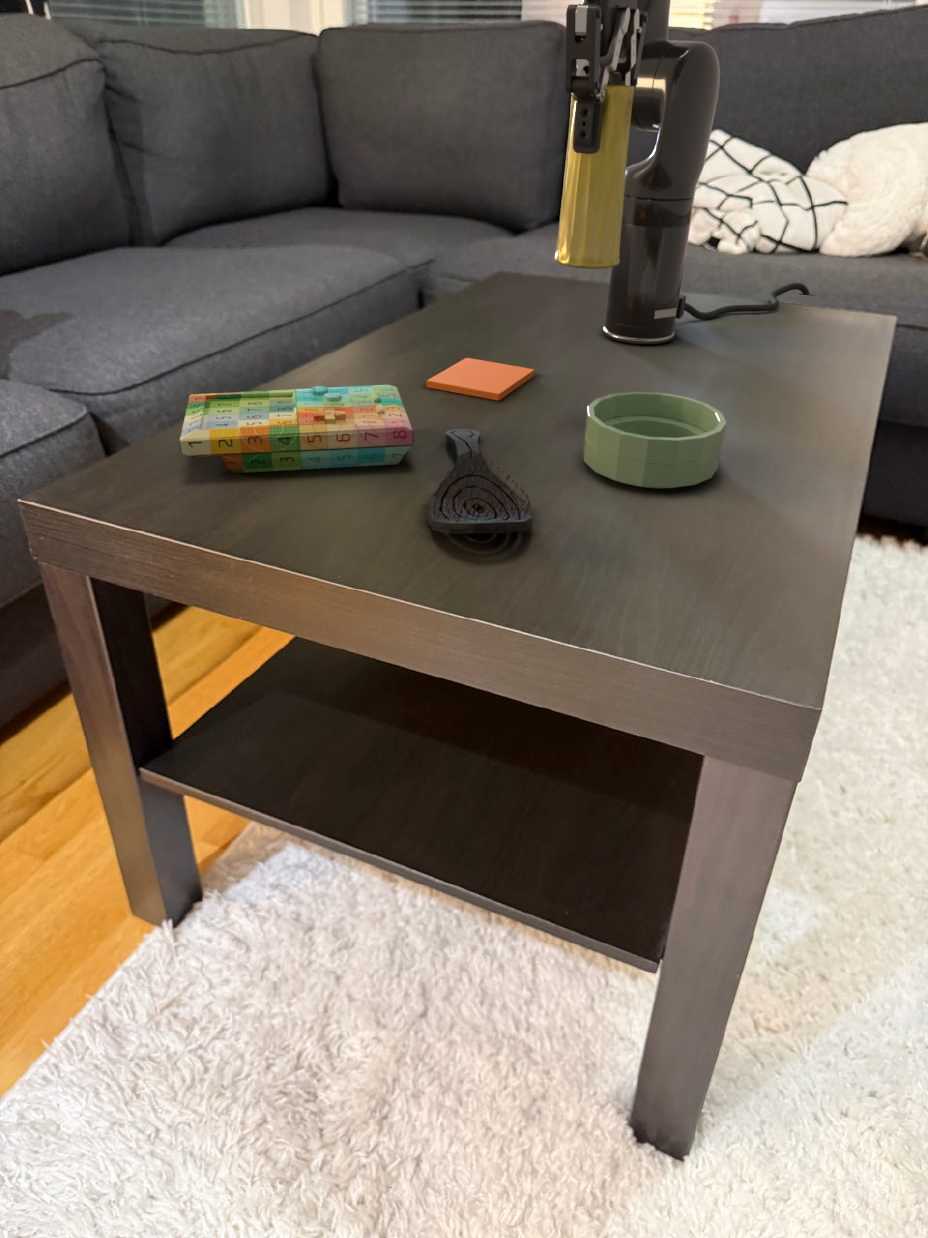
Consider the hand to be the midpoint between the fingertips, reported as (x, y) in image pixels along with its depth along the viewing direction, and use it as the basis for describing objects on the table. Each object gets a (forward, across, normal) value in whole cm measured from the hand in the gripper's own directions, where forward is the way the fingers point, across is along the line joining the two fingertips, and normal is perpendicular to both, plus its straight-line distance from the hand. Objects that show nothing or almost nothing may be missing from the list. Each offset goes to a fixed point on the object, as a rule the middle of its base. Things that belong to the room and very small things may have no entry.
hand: (597, 148), depth 77 cm
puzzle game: (+25, +21, -20) cm, 38 cm away
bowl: (+25, +8, +10) cm, 28 cm away
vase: (+10, 0, 0) cm, 10 cm away
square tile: (+25, -6, -13) cm, 29 cm away
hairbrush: (+25, +21, -2) cm, 32 cm away
